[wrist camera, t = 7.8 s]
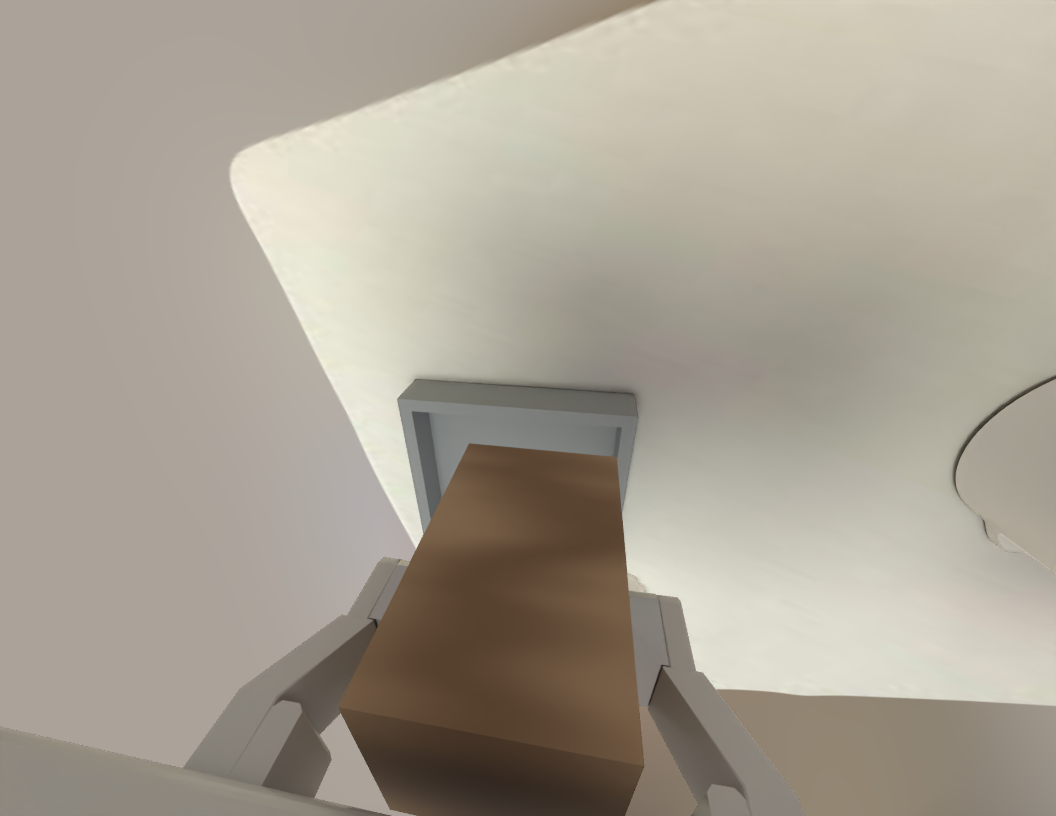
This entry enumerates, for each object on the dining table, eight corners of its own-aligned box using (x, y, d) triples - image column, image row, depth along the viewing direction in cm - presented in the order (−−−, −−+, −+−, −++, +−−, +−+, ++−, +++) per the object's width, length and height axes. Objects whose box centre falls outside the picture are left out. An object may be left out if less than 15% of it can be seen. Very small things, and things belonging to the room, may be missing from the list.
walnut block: (616, 456, 11) (644, 766, 5) (601, 559, 13) (607, 858, 7) (468, 443, 12) (337, 706, 6) (477, 543, 14) (390, 810, 8)
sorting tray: (633, 394, 30) (638, 416, 27) (609, 550, 39) (610, 580, 36) (415, 379, 32) (397, 398, 29) (440, 530, 41) (428, 556, 38)
